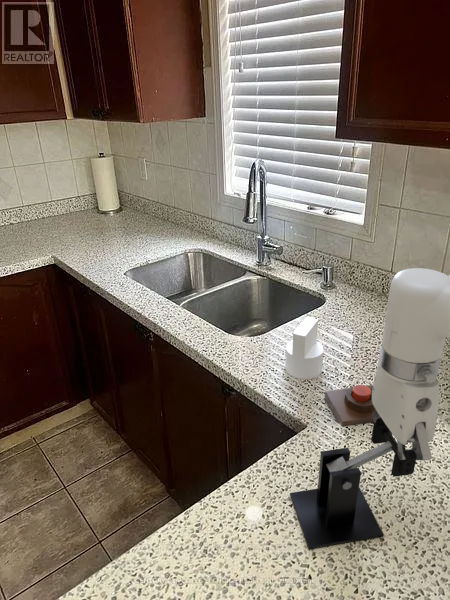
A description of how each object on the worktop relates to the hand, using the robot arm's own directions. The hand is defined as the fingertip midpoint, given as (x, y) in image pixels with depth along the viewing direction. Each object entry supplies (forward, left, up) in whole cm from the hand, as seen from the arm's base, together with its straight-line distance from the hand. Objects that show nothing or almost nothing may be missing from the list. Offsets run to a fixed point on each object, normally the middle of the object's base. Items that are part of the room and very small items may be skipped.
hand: (391, 456), depth 68 cm
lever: (+4, 0, -1) cm, 4 cm away
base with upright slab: (0, -41, -13) cm, 43 cm away
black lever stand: (+8, 0, -12) cm, 15 cm away
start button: (-7, -24, -9) cm, 26 cm away
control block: (-7, -24, -12) cm, 28 cm away
